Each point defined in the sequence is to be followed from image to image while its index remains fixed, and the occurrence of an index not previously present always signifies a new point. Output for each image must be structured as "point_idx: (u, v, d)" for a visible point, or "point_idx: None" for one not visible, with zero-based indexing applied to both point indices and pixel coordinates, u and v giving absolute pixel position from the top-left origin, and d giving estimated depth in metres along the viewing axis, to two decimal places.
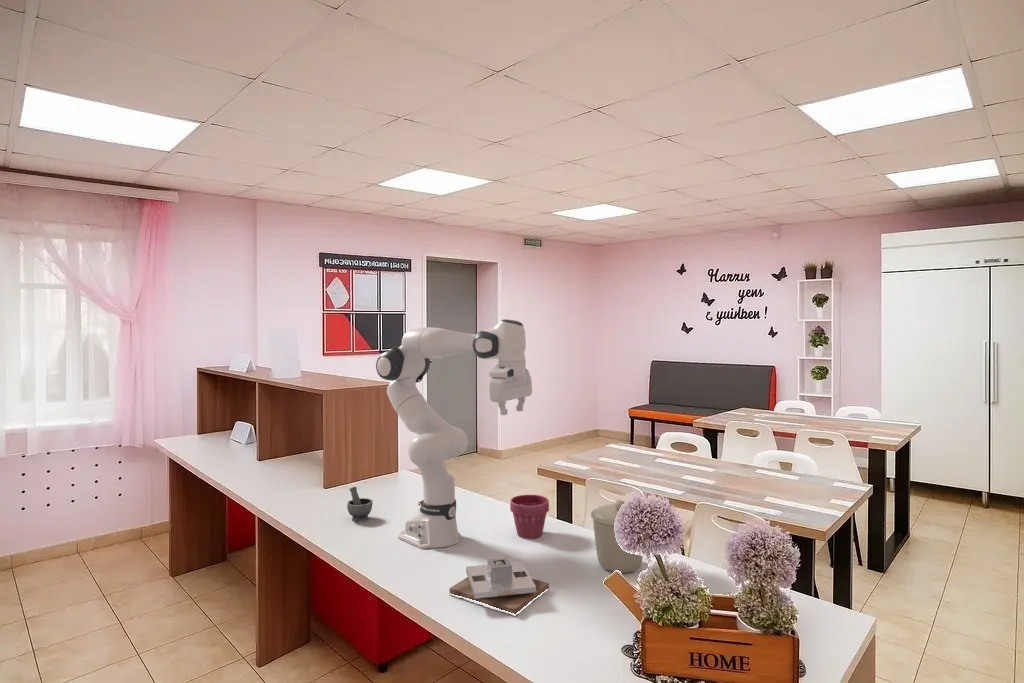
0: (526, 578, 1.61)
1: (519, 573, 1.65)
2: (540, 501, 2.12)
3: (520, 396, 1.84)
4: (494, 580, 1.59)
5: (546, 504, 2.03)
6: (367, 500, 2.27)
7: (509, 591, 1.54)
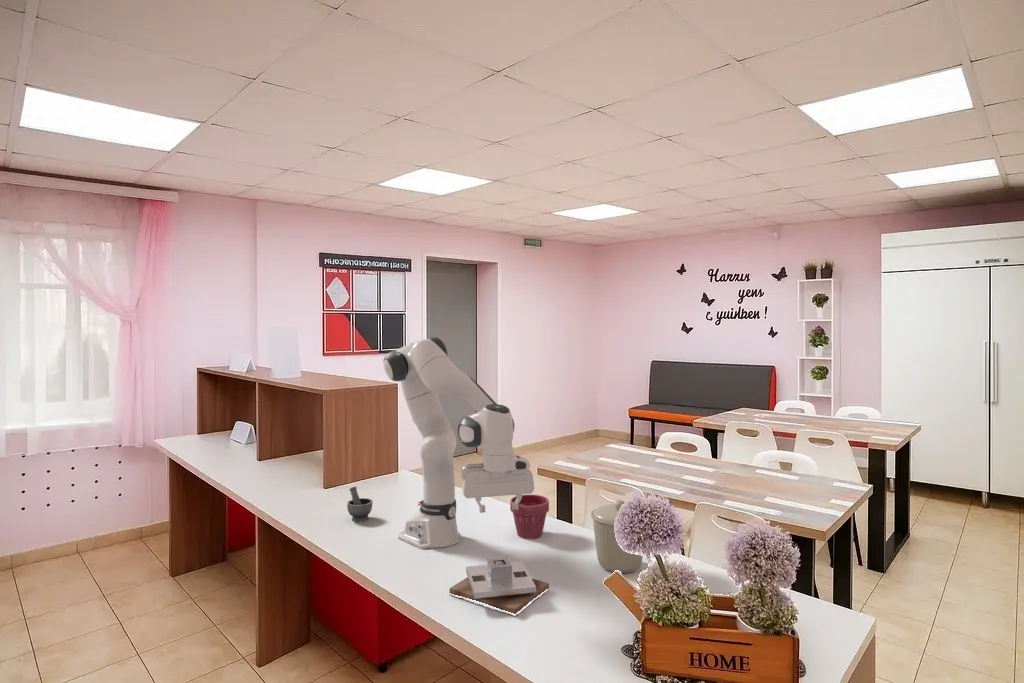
0: (526, 578, 1.61)
1: (519, 573, 1.65)
2: (540, 501, 2.12)
3: None
4: (494, 580, 1.59)
5: (546, 504, 2.03)
6: (367, 500, 2.27)
7: (509, 591, 1.54)
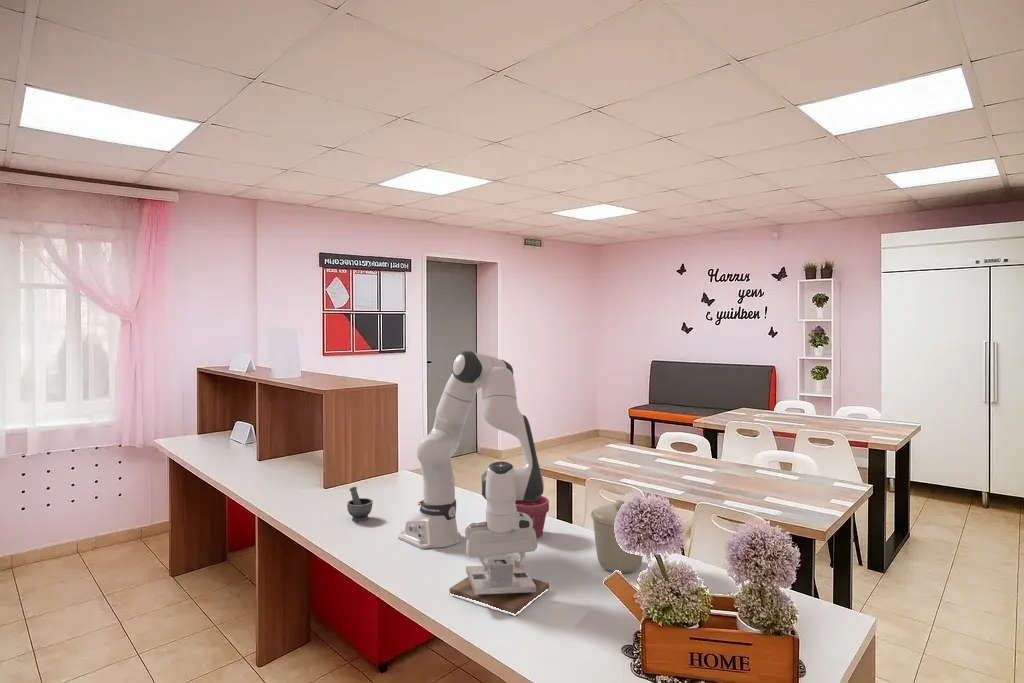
0: (526, 579, 1.61)
1: (519, 574, 1.65)
2: (540, 501, 2.12)
3: None
4: (494, 578, 1.59)
5: (546, 504, 2.03)
6: (367, 500, 2.27)
7: (509, 589, 1.54)
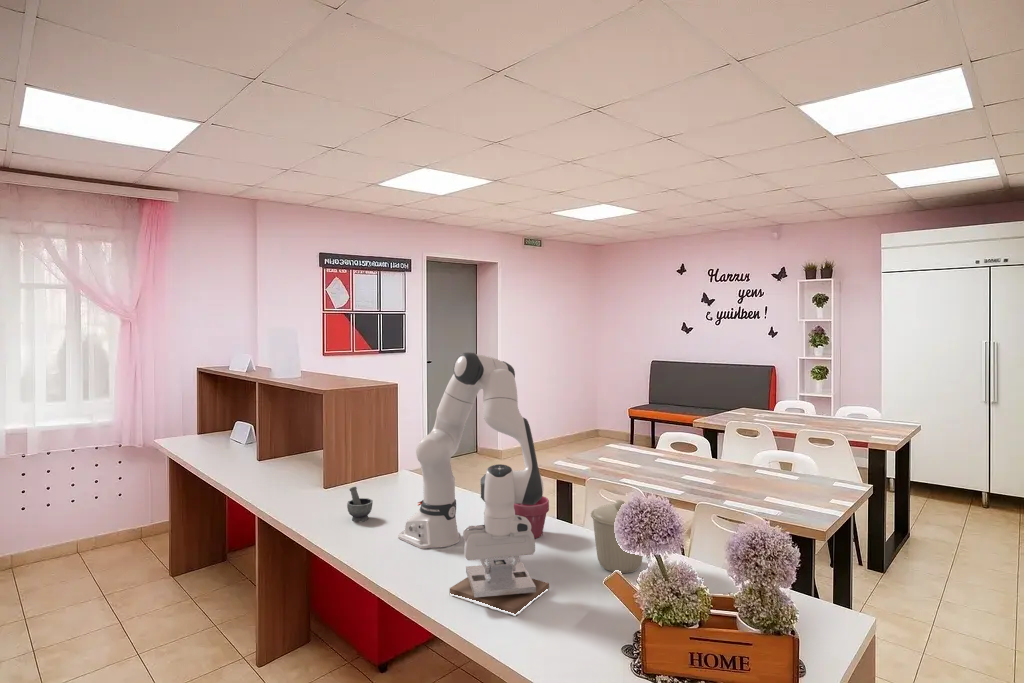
0: (526, 578, 1.61)
1: (519, 573, 1.65)
2: (540, 501, 2.12)
3: None
4: (494, 580, 1.59)
5: (546, 504, 2.03)
6: (367, 500, 2.27)
7: (509, 591, 1.54)
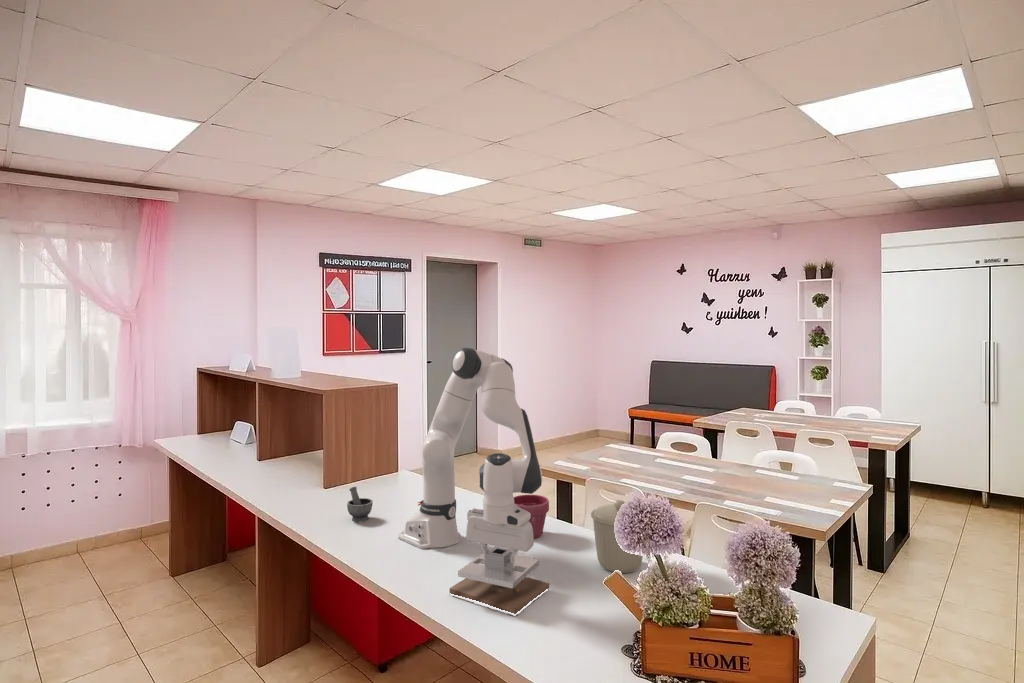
0: (517, 574, 1.56)
1: (521, 568, 1.61)
2: (540, 501, 2.12)
3: None
4: (488, 566, 1.60)
5: (546, 504, 2.03)
6: (367, 500, 2.27)
7: (488, 579, 1.54)
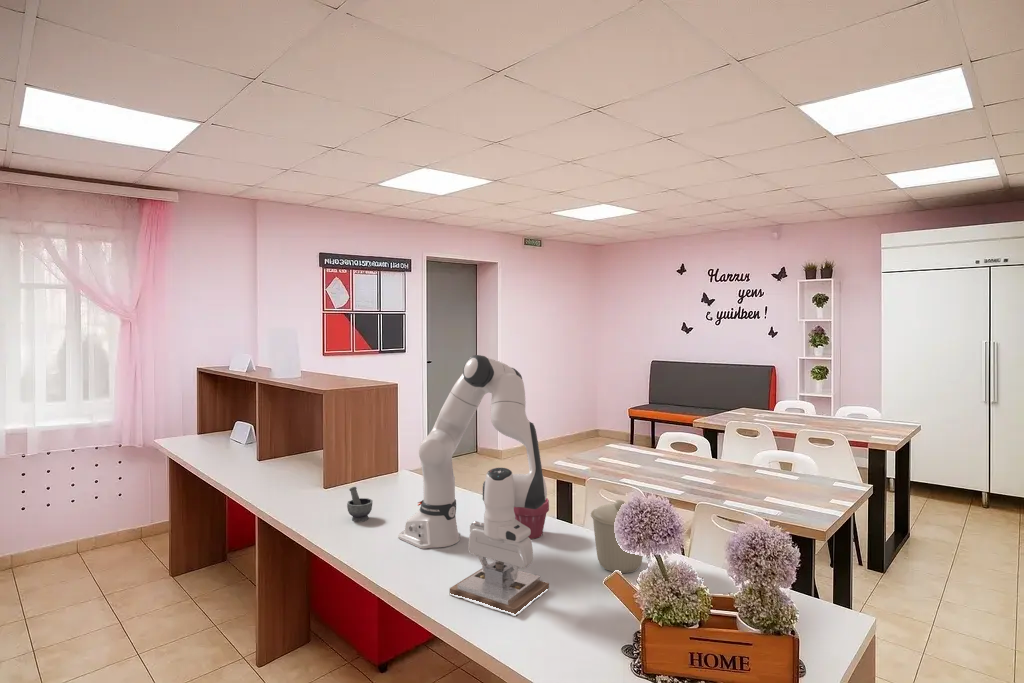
0: (515, 590, 1.56)
1: (521, 585, 1.61)
2: None
3: None
4: (487, 581, 1.61)
5: (546, 504, 2.03)
6: (367, 500, 2.27)
7: (485, 595, 1.55)
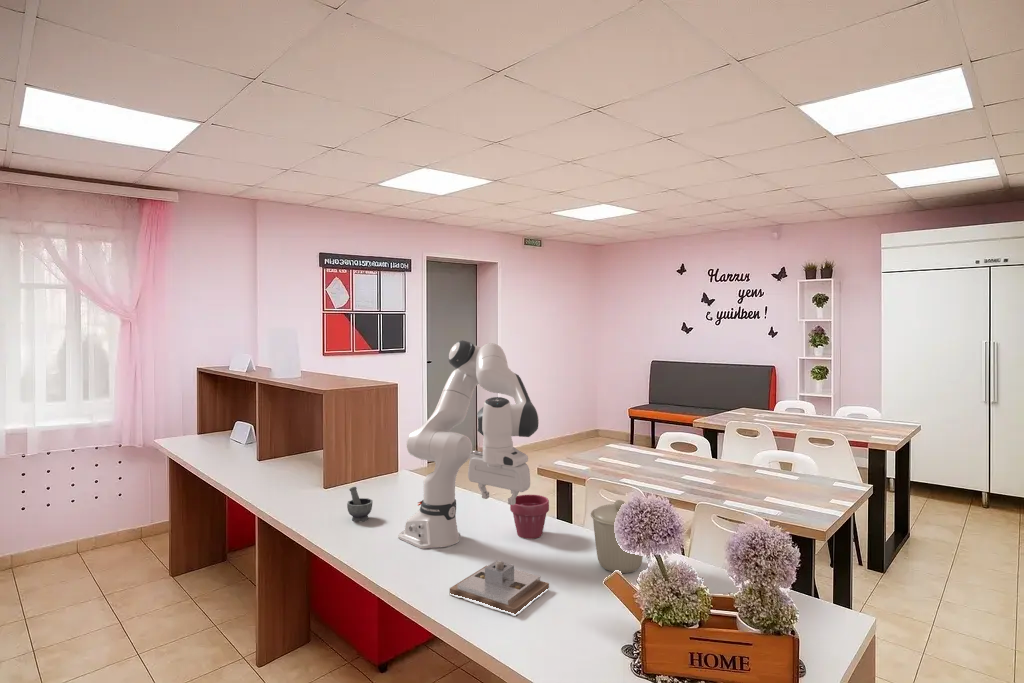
0: (515, 590, 1.56)
1: (521, 585, 1.61)
2: (540, 501, 2.12)
3: None
4: (487, 581, 1.61)
5: (546, 504, 2.03)
6: (367, 500, 2.27)
7: (485, 595, 1.55)
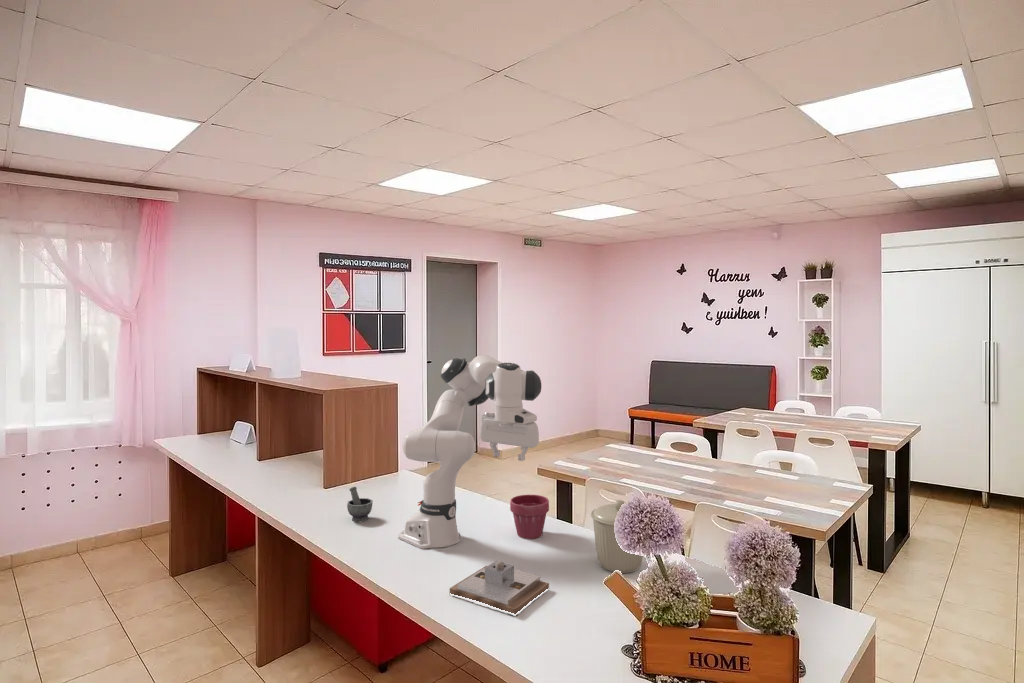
0: (515, 590, 1.56)
1: (521, 585, 1.61)
2: (540, 501, 2.12)
3: None
4: (487, 581, 1.61)
5: (546, 504, 2.03)
6: (367, 500, 2.27)
7: (485, 595, 1.55)
